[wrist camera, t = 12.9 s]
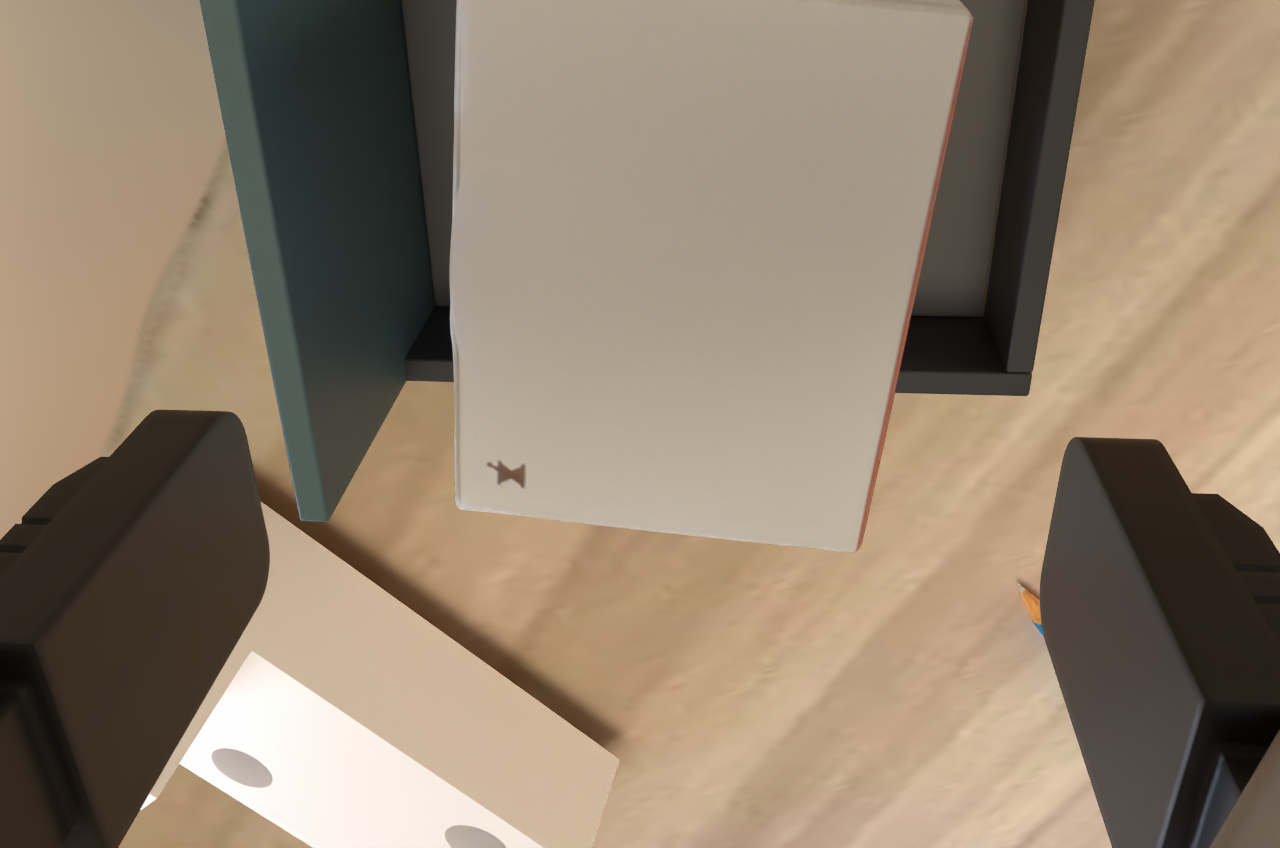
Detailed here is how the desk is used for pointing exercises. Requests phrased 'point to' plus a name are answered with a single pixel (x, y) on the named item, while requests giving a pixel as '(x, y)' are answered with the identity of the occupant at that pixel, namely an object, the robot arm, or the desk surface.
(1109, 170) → the desk surface
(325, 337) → the countertop display stand
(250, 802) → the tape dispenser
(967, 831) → the desk surface
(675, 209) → the small box
